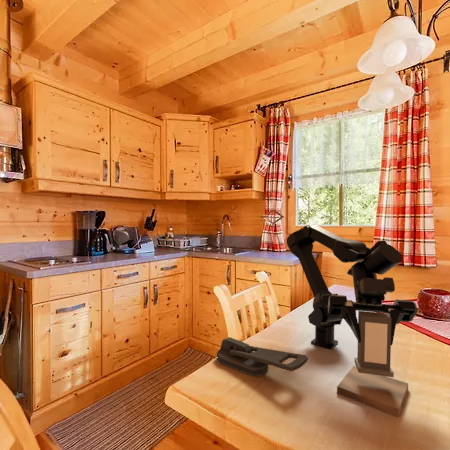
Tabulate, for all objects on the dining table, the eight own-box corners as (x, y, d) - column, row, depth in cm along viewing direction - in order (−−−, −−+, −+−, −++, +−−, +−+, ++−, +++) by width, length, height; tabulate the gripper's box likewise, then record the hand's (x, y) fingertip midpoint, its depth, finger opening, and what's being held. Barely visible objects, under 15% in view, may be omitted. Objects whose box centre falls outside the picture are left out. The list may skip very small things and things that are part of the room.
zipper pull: (292, 369, 62) (211, 336, 79) (292, 399, 62) (211, 360, 79) (311, 355, 68) (233, 327, 85) (311, 382, 68) (233, 349, 86)
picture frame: (354, 361, 68) (355, 309, 68) (387, 365, 66) (388, 312, 66) (358, 372, 63) (359, 316, 63) (393, 377, 62) (395, 319, 61)
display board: (353, 371, 73) (353, 365, 73) (408, 389, 66) (408, 383, 66) (337, 393, 64) (337, 386, 64) (398, 417, 56) (398, 409, 56)
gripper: (329, 262, 71) (333, 322, 60) (415, 266, 66) (436, 332, 55) (326, 286, 78) (329, 343, 68) (403, 291, 74) (418, 353, 63)
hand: (375, 342), depth 63 cm, fingers closed on picture frame, 6 cm apart
